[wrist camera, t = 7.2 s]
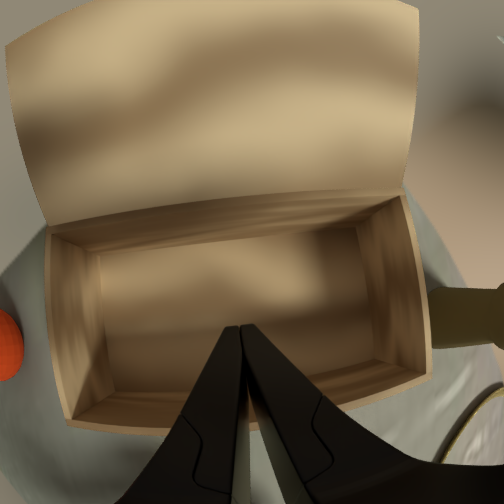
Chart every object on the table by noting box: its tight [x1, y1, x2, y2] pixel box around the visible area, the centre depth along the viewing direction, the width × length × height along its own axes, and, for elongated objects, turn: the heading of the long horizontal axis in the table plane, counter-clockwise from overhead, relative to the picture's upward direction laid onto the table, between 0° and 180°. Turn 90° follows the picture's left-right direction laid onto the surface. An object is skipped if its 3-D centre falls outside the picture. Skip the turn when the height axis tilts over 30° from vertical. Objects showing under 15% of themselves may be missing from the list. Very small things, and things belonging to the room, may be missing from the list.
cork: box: [427, 283, 504, 350], centre depth 16 cm, size 6×6×11 cm
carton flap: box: [5, 0, 419, 227], centre depth 10 cm, size 11×21×1 cm
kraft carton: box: [44, 188, 432, 436], centre depth 16 cm, size 12×22×8 cm, turn 97°
